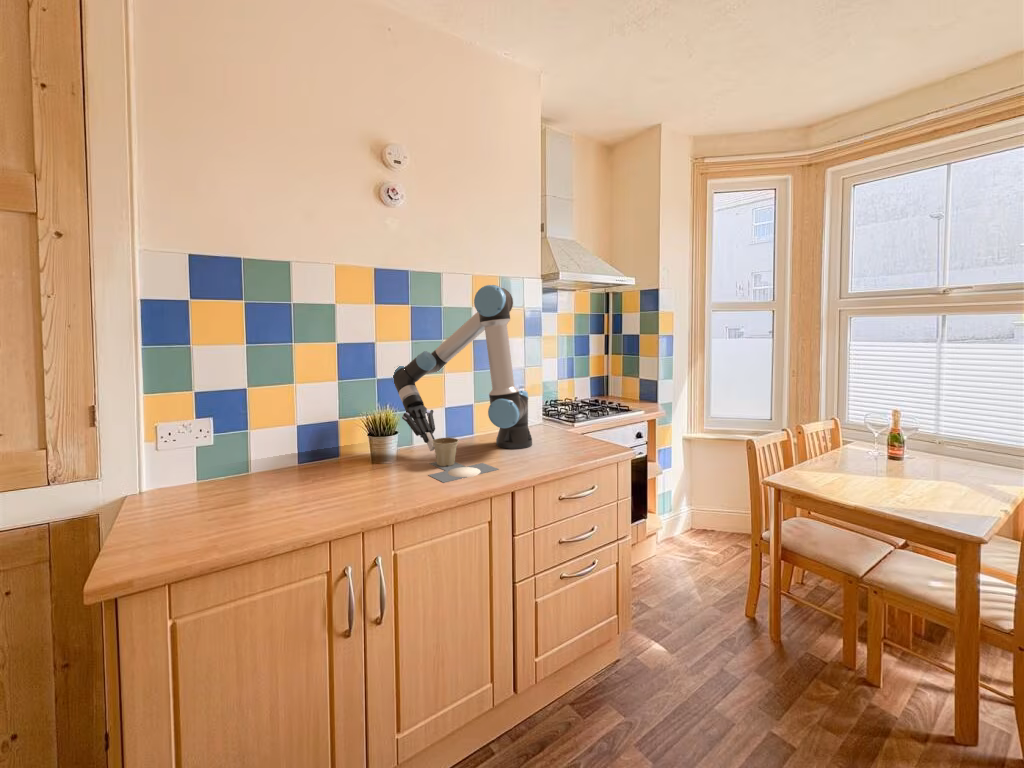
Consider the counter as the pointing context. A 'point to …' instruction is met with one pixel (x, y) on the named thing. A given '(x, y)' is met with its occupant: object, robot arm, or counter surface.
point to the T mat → (460, 471)
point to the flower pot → (445, 450)
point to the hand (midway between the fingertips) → (433, 448)
